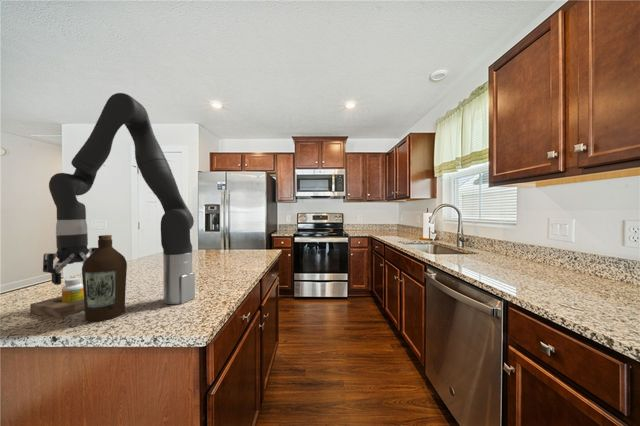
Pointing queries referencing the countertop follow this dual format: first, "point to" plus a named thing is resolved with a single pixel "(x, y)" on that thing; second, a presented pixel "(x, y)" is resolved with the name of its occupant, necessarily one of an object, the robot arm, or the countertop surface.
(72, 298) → the supplement bottle
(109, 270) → the olive oil
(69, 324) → the countertop surface
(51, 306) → the socket board
